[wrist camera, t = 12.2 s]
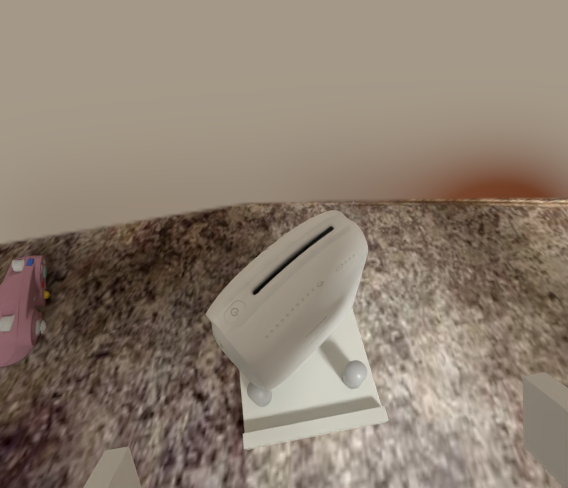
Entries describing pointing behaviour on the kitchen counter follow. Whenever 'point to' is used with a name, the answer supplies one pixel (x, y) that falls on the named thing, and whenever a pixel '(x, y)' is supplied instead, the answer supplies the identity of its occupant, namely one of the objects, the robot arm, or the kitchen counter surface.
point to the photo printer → (290, 298)
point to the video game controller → (22, 308)
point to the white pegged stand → (315, 394)
